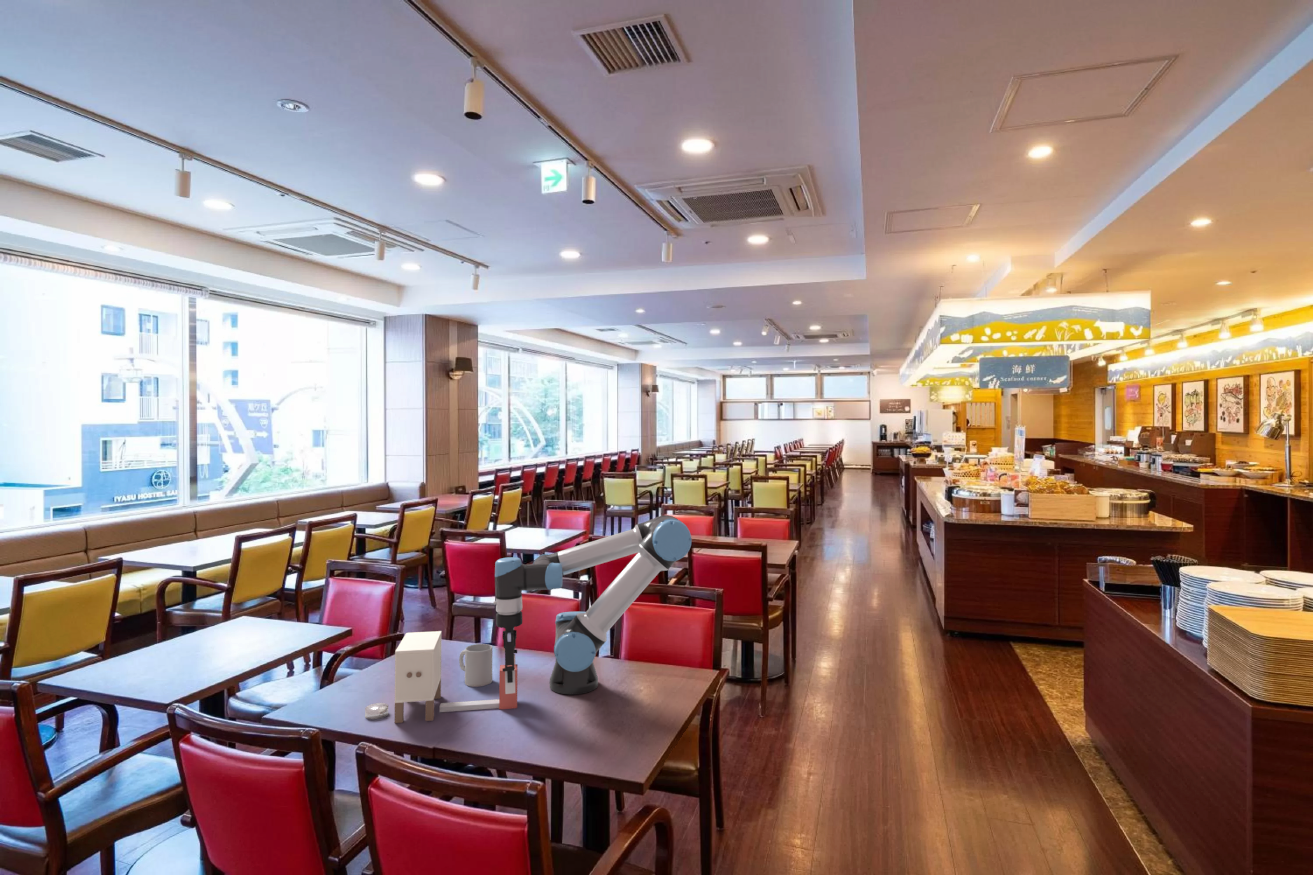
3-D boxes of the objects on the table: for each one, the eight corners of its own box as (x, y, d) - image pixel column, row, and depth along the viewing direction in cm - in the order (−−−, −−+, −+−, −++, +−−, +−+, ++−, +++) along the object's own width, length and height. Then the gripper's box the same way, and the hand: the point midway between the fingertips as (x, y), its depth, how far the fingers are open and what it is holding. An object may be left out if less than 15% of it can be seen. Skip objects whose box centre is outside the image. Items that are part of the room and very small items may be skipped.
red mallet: (517, 701, 196) (517, 664, 197) (517, 707, 192) (517, 669, 192) (441, 706, 192) (441, 668, 192) (439, 713, 187) (439, 674, 187)
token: (389, 710, 190) (389, 701, 190) (386, 718, 184) (386, 710, 184) (367, 712, 188) (367, 703, 188) (363, 720, 183) (363, 712, 183)
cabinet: (440, 695, 200) (441, 630, 200) (432, 722, 181) (433, 650, 182) (405, 698, 198) (406, 632, 199) (393, 725, 179) (394, 652, 180)
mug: (497, 679, 214) (498, 645, 214) (480, 688, 206) (480, 653, 207) (468, 674, 219) (469, 640, 219) (450, 682, 212) (450, 647, 212)
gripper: (497, 602, 205) (499, 671, 205) (494, 623, 181) (495, 702, 181) (522, 600, 207) (523, 669, 207) (522, 621, 182) (524, 699, 182)
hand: (510, 684), depth 194 cm, fingers open, 13 cm apart
